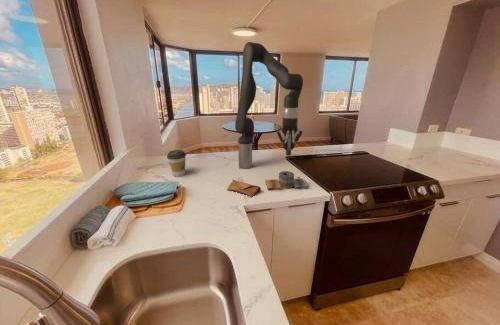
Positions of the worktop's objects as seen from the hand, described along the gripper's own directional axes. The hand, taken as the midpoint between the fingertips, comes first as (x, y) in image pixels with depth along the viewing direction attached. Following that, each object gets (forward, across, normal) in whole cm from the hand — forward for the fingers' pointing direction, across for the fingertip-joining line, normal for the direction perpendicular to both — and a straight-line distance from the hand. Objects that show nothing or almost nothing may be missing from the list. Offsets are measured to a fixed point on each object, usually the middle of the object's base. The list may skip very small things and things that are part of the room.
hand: (288, 149), depth 112 cm
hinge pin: (+3, 0, 0) cm, 3 cm away
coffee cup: (+21, +64, -22) cm, 71 cm away
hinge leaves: (+22, 0, 0) cm, 22 cm away
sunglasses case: (+22, +25, +4) cm, 34 cm away
